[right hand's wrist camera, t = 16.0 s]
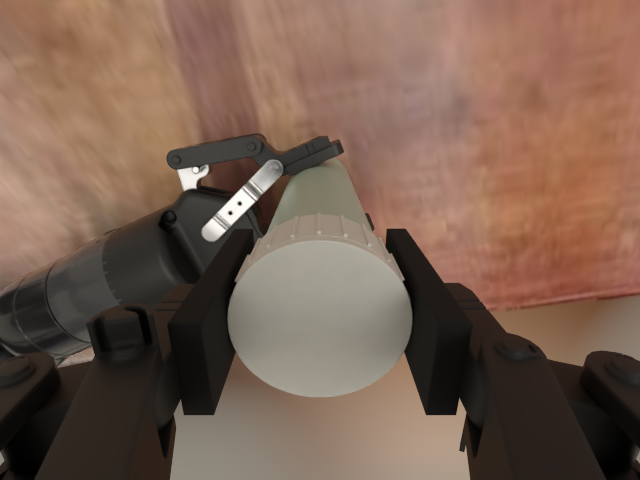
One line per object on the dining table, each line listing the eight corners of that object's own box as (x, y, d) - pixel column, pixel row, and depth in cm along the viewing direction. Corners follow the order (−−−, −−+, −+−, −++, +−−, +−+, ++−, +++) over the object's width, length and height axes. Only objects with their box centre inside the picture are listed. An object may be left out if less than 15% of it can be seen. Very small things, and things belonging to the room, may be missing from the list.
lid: (210, 290, 12) (186, 331, 10) (314, 176, 11) (313, 194, 8) (323, 372, 14) (324, 425, 11) (429, 281, 12) (455, 321, 10)
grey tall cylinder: (342, 146, 28) (387, 223, 10) (353, 203, 30) (408, 361, 11) (284, 159, 28) (219, 256, 10) (298, 214, 30) (264, 386, 12)
